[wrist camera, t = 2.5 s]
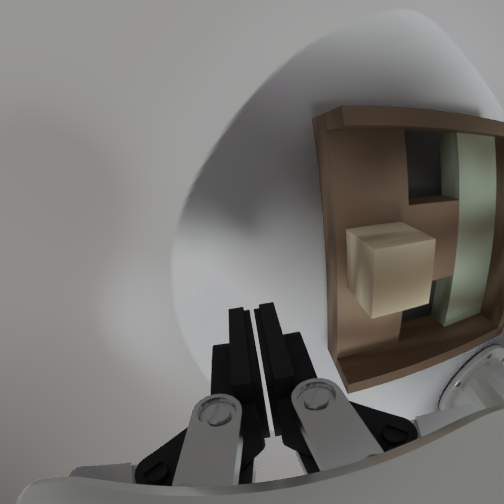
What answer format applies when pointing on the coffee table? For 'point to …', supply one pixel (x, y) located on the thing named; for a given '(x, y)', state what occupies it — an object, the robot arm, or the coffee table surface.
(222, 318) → the coffee table surface
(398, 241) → the maple block
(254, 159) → the coffee table surface
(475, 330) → the box
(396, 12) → the coffee table surface
